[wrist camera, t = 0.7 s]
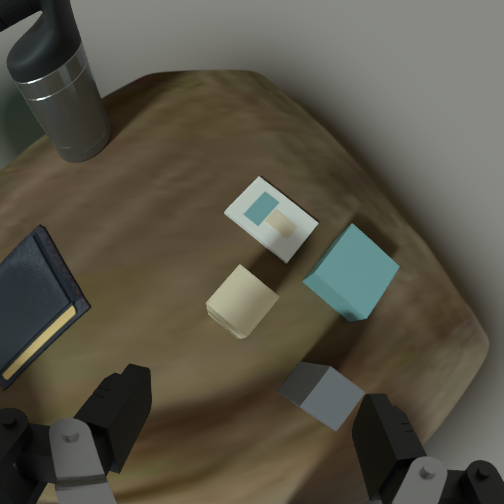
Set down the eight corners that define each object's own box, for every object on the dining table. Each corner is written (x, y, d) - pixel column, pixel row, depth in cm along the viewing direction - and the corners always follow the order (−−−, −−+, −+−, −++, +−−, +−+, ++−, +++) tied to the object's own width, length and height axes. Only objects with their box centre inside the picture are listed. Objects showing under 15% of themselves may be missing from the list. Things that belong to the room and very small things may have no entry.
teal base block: (301, 281, 38) (314, 272, 34) (337, 236, 41) (352, 223, 36) (348, 322, 38) (366, 318, 33) (380, 275, 40) (399, 266, 35)
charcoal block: (277, 390, 34) (299, 406, 25) (300, 361, 35) (330, 366, 26) (305, 411, 34) (336, 431, 24) (328, 382, 35) (365, 392, 25)
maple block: (208, 313, 36) (205, 302, 26) (232, 285, 37) (239, 264, 28) (238, 338, 35) (246, 336, 26) (262, 309, 37) (279, 296, 27)
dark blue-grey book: (39, 218, 35) (91, 309, 33) (45, 223, 37) (96, 311, 35) (-43, 302, 29) (-3, 393, 27) (-36, 304, 31) (5, 392, 29)
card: (224, 213, 40) (224, 211, 39) (258, 178, 42) (259, 175, 41) (286, 263, 39) (287, 262, 38) (317, 224, 41) (318, 222, 40)
